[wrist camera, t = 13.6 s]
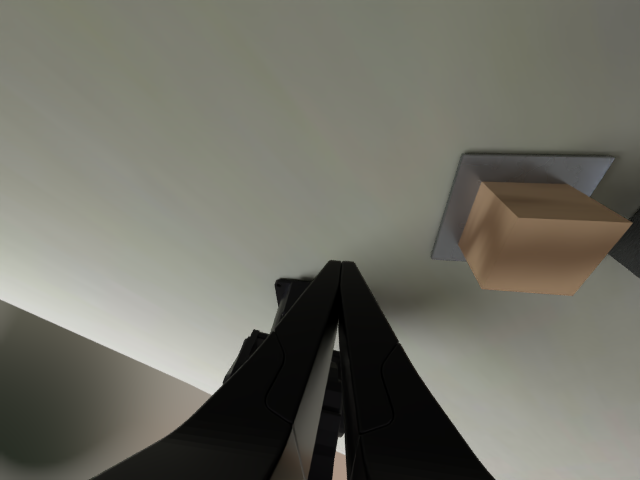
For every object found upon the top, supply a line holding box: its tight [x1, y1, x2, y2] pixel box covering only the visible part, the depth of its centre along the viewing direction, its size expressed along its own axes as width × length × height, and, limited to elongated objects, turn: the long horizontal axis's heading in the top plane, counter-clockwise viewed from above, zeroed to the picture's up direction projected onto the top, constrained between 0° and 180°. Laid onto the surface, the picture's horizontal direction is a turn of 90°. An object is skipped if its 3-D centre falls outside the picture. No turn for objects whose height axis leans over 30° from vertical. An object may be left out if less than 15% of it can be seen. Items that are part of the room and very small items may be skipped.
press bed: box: [431, 154, 615, 261], centre depth 19 cm, size 9×9×1 cm
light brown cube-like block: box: [458, 182, 632, 296], centre depth 17 cm, size 6×6×5 cm
